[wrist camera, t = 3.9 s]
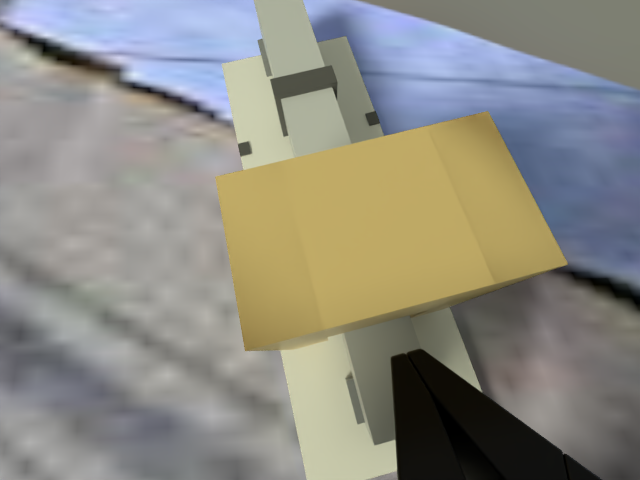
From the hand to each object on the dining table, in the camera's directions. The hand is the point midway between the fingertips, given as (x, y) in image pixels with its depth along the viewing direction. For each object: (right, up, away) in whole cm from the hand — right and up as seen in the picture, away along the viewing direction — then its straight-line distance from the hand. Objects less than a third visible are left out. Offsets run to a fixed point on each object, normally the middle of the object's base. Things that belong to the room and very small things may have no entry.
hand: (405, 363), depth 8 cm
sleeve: (-1, +1, +7) cm, 7 cm away
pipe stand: (-2, +5, +9) cm, 11 cm away
